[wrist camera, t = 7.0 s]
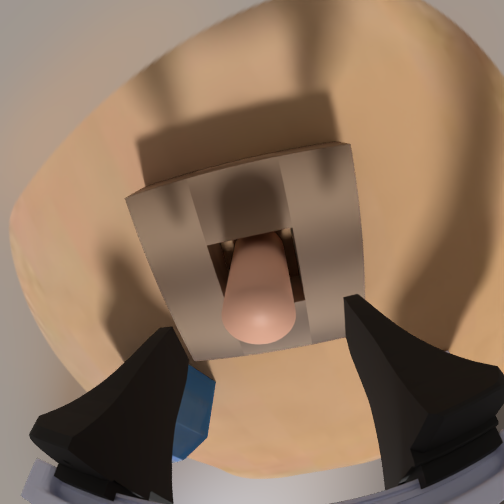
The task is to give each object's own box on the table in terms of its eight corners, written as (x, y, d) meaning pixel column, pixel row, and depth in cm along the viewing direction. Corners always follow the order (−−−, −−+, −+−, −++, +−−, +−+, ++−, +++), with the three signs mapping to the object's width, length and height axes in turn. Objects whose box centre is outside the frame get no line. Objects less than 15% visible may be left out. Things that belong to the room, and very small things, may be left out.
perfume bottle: (161, 345, 22) (118, 468, 11) (215, 381, 24) (198, 499, 13) (130, 371, 24) (89, 471, 13) (178, 402, 26) (155, 500, 15)
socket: (353, 306, 20) (365, 332, 17) (201, 334, 21) (194, 361, 18) (334, 141, 15) (350, 144, 12) (145, 186, 16) (124, 198, 14)
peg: (288, 266, 19) (301, 336, 12) (242, 277, 19) (234, 349, 13) (277, 221, 17) (287, 278, 11) (228, 234, 18) (210, 294, 11)
